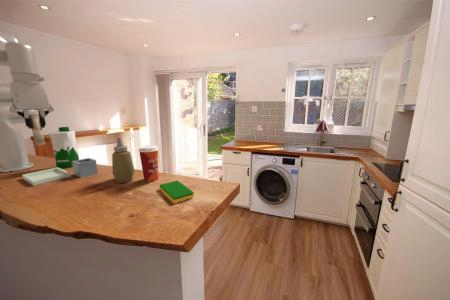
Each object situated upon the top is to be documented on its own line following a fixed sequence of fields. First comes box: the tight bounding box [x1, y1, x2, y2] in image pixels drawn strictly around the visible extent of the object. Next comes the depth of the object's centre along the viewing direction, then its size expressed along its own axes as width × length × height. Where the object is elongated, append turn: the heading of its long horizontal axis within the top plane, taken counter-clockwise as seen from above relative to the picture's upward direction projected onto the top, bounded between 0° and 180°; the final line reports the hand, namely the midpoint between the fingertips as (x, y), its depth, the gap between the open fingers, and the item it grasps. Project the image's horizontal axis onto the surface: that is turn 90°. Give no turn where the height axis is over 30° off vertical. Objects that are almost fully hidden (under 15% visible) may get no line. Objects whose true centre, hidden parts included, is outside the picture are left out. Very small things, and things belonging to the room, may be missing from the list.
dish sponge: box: [159, 180, 195, 204], centre depth 70 cm, size 7×14×2 cm, turn 36°
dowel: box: [29, 113, 46, 146], centre depth 80 cm, size 3×3×12 cm
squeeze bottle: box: [111, 137, 135, 184], centre depth 81 cm, size 8×8×18 cm
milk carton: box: [48, 126, 80, 169], centre depth 99 cm, size 9×9×20 cm
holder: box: [72, 157, 99, 179], centre depth 88 cm, size 7×7×7 cm
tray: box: [21, 166, 72, 187], centre depth 84 cm, size 14×12×3 cm
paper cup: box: [138, 144, 159, 183], centre depth 83 cm, size 8×8×14 cm
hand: (36, 127), depth 80 cm, fingers closed on dowel, 3 cm apart
